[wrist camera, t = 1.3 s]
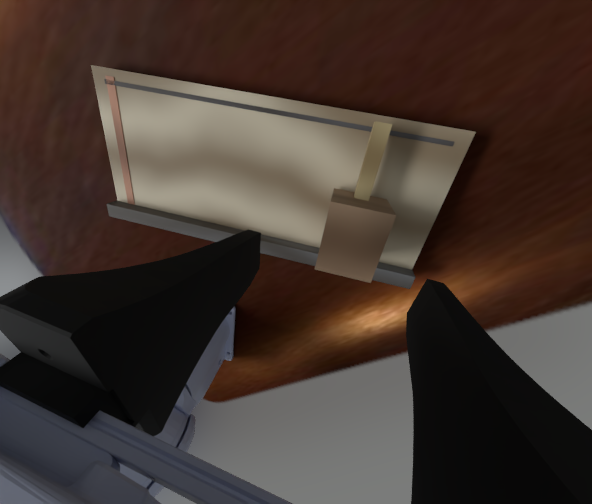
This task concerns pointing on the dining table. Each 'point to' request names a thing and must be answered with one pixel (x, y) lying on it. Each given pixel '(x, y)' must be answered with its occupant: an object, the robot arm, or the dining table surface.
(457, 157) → the cream flat tray
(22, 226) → the dining table surface
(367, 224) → the marking gauge
